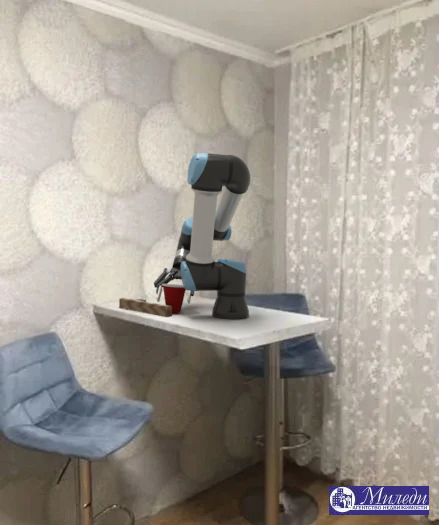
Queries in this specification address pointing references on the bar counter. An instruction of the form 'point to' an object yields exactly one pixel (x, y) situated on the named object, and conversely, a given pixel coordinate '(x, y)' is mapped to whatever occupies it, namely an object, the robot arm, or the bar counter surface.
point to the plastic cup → (174, 296)
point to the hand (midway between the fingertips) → (172, 300)
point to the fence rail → (145, 307)
